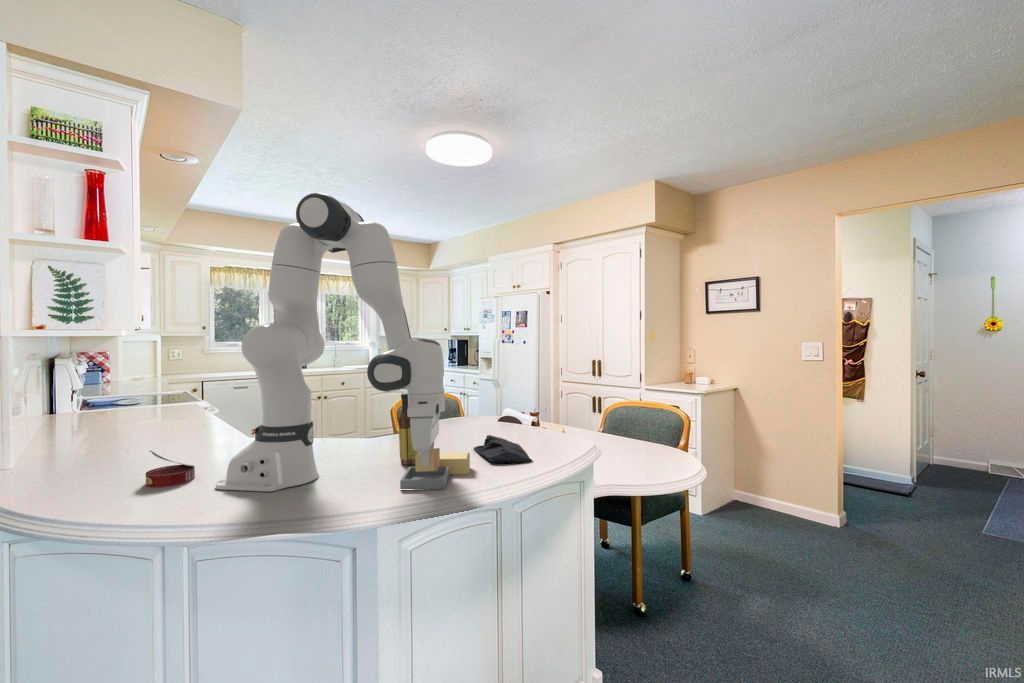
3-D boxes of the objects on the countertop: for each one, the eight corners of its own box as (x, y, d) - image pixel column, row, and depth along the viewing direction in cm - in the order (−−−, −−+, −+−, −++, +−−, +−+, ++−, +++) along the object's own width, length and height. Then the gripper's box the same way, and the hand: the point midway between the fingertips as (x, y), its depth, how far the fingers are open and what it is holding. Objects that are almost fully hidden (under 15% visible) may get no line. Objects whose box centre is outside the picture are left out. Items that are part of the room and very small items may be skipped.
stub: (415, 471, 108) (415, 454, 108) (419, 465, 114) (419, 448, 114) (437, 471, 108) (436, 453, 108) (439, 464, 114) (439, 447, 114)
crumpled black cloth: (482, 468, 126) (482, 450, 126) (472, 449, 147) (472, 435, 147) (536, 464, 129) (536, 447, 129) (518, 447, 150) (518, 432, 150)
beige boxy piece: (421, 476, 117) (421, 455, 117) (425, 467, 125) (425, 448, 125) (468, 475, 117) (468, 455, 117) (470, 466, 125) (469, 447, 125)
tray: (400, 490, 105) (400, 480, 105) (409, 476, 117) (409, 466, 117) (444, 489, 106) (444, 479, 106) (449, 475, 117) (449, 466, 117)
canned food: (155, 498, 115) (159, 459, 120) (201, 490, 118) (203, 452, 122) (131, 490, 106) (136, 447, 110) (181, 481, 108) (184, 440, 113)
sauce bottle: (425, 460, 132) (424, 391, 132) (418, 466, 126) (418, 394, 126) (403, 460, 133) (402, 391, 133) (395, 465, 127) (395, 394, 127)
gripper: (420, 399, 121) (421, 451, 121) (405, 410, 101) (406, 473, 101) (443, 398, 122) (445, 450, 122) (434, 410, 101) (435, 472, 101)
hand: (427, 461), depth 111 cm, fingers closed on stub, 6 cm apart
